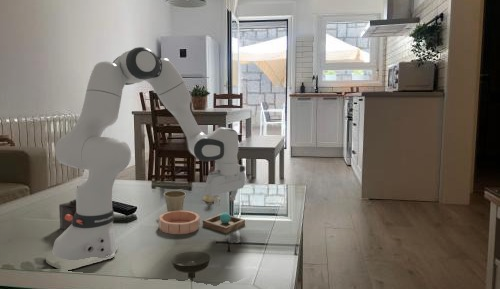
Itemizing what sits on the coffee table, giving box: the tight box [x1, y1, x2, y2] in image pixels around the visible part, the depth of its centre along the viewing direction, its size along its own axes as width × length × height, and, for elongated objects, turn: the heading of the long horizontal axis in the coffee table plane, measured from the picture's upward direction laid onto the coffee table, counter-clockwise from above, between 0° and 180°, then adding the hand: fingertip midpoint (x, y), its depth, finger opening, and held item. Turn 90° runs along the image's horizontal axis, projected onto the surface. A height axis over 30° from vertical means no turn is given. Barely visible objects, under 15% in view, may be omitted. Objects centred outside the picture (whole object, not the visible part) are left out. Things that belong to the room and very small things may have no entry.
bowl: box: [158, 210, 201, 235], centre depth 165 cm, size 16×16×4 cm
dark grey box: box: [58, 185, 79, 231], centre depth 157 cm, size 16×11×18 cm
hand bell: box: [202, 166, 221, 203], centre depth 200 cm, size 8×8×16 cm
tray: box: [202, 212, 246, 234], centre depth 168 cm, size 12×12×2 cm
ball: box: [220, 212, 232, 224], centre depth 169 cm, size 4×4×4 cm
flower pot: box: [163, 190, 187, 212], centre depth 180 cm, size 9×9×9 cm
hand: (224, 202), depth 166 cm, fingers open, 8 cm apart
